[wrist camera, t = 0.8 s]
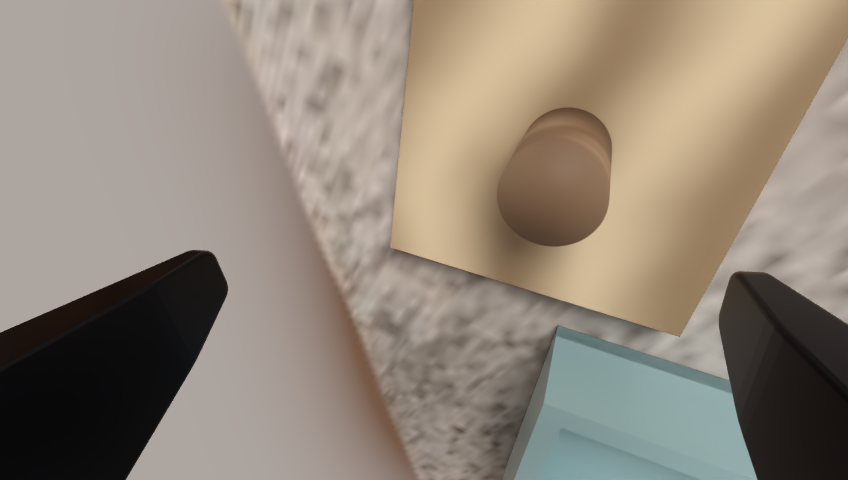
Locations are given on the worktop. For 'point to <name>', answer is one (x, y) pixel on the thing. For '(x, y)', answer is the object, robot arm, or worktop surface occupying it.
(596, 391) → the light blue box
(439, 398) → the worktop surface
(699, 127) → the lid
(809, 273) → the worktop surface
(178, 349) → the robot arm
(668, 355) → the worktop surface
